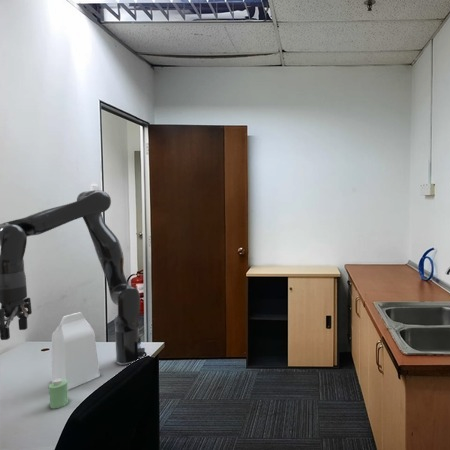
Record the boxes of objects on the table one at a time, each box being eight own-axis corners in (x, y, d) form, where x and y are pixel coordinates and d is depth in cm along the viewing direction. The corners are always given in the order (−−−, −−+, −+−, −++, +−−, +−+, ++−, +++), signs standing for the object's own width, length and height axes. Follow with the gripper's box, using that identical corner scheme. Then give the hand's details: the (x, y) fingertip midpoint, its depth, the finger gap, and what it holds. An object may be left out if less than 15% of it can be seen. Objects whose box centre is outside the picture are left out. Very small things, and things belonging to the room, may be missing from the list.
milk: (65, 390, 123) (61, 321, 121) (51, 382, 129) (47, 316, 127) (99, 376, 133) (96, 312, 131) (85, 368, 139) (81, 307, 138)
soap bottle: (70, 398, 118) (69, 375, 117) (64, 407, 113) (62, 382, 113) (54, 400, 117) (52, 377, 116) (47, 409, 112) (45, 385, 111)
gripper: (8, 290, 102) (12, 342, 103) (37, 280, 116) (40, 325, 117) (-20, 291, 101) (-16, 344, 102) (13, 281, 115) (16, 327, 116)
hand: (14, 334), depth 110 cm, fingers open, 8 cm apart
